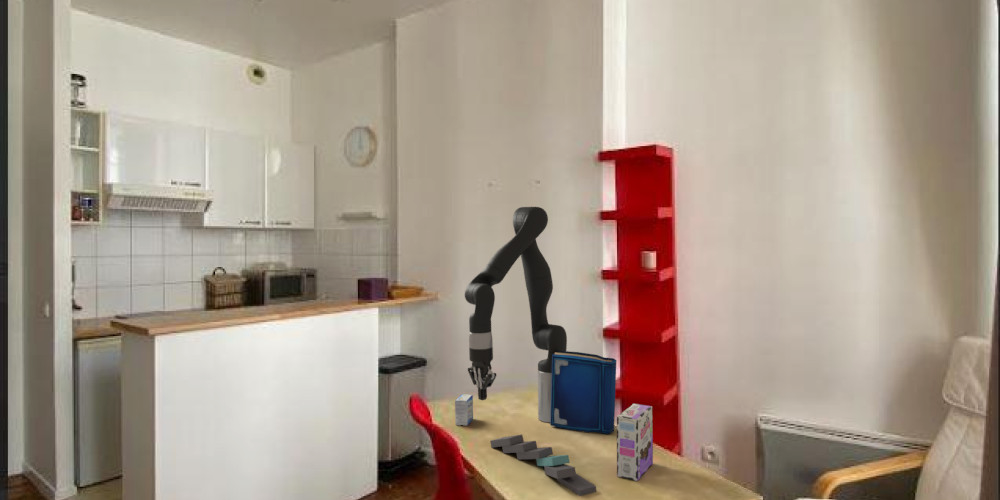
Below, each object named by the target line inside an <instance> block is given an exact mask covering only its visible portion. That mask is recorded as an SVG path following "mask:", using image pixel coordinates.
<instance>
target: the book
mask: <svg viewBox="0 0 1000 500" xmlns="http://www.w3.org/2000/svg"><path fill="white" fill-rule="evenodd" d="M616 378H617V359H615V358H612V357H604V356H600V355H599V354H593V353H586V352H579V351H570V350H569V351H568V350H566V351H558V353H556V352H555V354H552V382H551V419H550V422H549V424H550V426H552V427H555V428H561V429H564V430H565V429H566V430H568V431H569V430H570V431H575V430H576V431H577V432H582V431H584V432H583V433H589V432H597V433H600V434H603V435H610V434H612V433H614V431H615V415H616V414H615V413H616V412H615V411H616V383H617V382H616V381H617V380H616Z"/></svg>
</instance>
